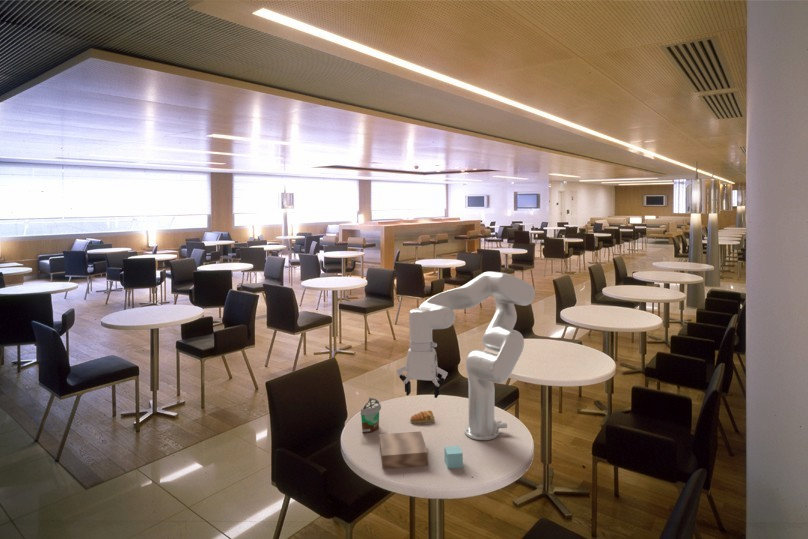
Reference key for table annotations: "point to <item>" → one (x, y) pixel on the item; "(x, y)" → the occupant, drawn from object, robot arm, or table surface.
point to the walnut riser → (403, 450)
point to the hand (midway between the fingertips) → (422, 395)
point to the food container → (370, 416)
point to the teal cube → (453, 457)
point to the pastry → (423, 417)
